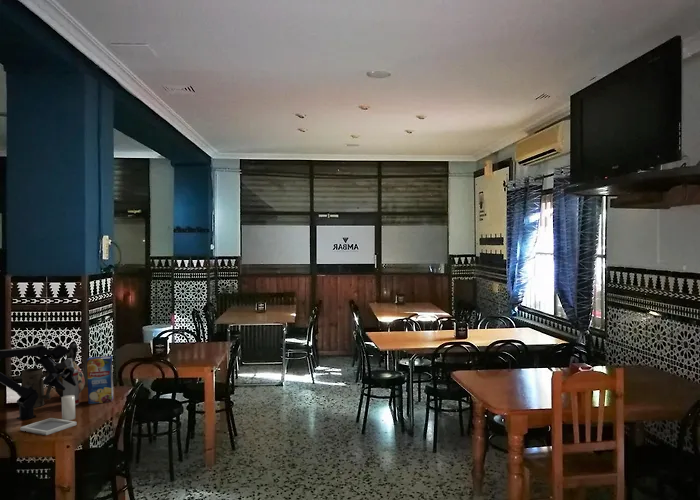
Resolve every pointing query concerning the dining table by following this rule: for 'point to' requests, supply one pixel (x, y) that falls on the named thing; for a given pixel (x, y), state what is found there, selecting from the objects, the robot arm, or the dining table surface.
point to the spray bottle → (69, 387)
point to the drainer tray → (48, 426)
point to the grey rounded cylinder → (68, 407)
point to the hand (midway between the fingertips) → (70, 387)
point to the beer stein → (36, 384)
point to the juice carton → (100, 379)
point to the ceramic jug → (72, 354)
